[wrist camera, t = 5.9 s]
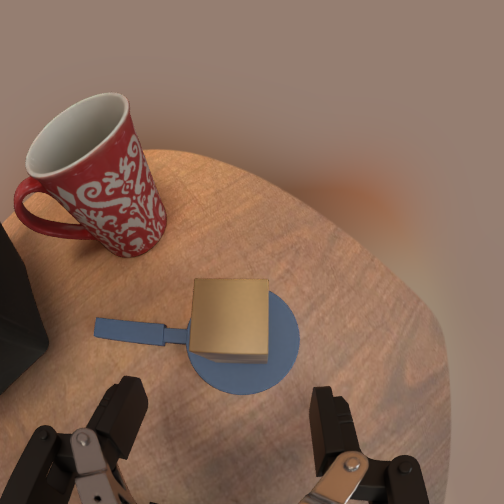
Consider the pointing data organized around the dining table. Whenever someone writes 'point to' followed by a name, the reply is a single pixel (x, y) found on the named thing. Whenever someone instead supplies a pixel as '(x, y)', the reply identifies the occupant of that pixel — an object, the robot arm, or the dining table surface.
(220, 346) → the wooden block
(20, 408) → the dining table surface
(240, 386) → the blue ping pong paddle
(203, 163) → the dining table surface
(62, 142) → the mug
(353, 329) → the dining table surface
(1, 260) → the flower pot
